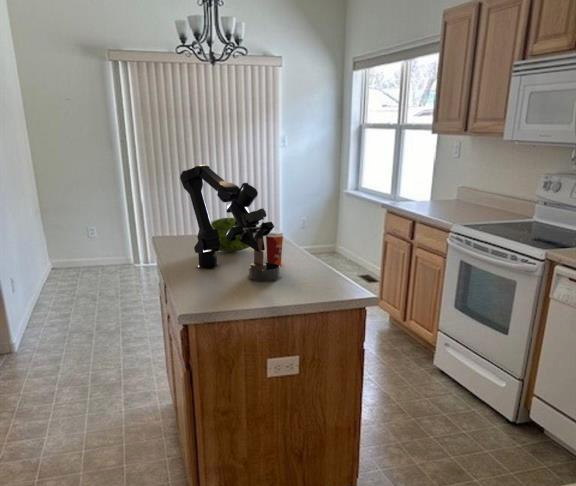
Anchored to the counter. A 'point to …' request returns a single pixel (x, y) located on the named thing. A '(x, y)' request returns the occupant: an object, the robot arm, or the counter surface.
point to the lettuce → (223, 228)
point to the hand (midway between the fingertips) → (261, 250)
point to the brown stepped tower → (258, 256)
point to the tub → (265, 273)
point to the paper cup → (274, 247)
